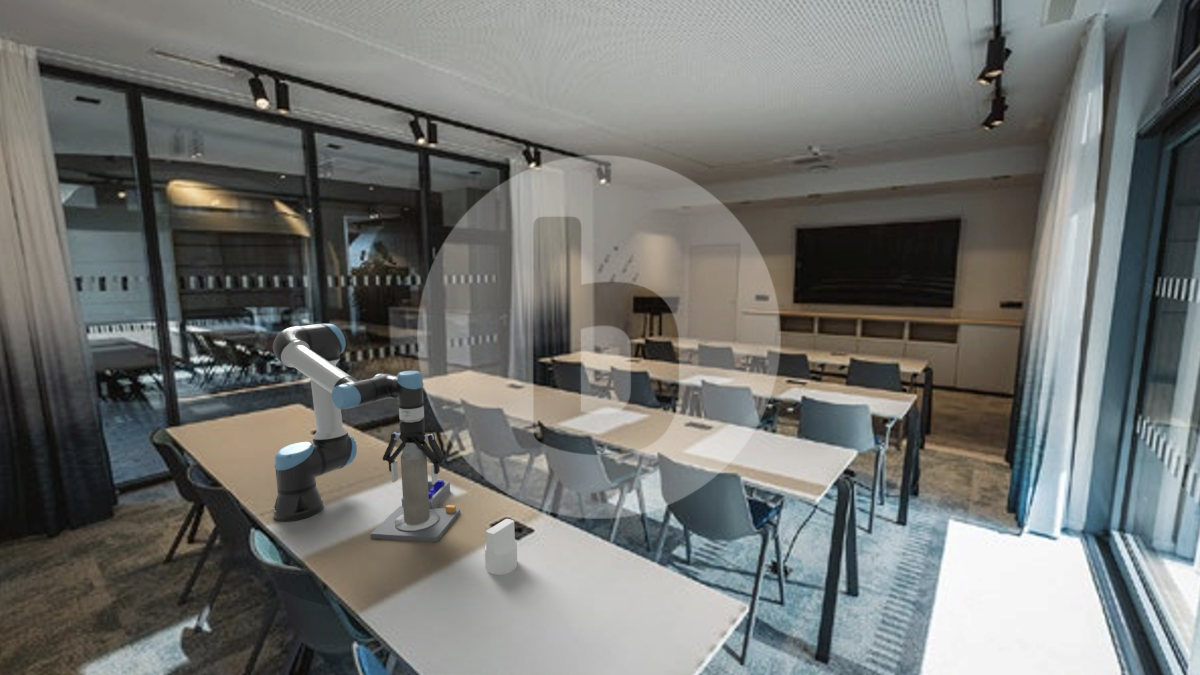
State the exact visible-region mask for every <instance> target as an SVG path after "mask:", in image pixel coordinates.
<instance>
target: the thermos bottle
mask: <svg viewBox="0 0 1200 675" xmlns="http://www.w3.org/2000/svg"><path fill="white" fill-rule="evenodd" d="M405 442H407V443H406V444H405V447H404V448H403V450H402V451H401V452H402V454H401V455H400V469H401V470H400V471H401V487H402V488H401V489H402V498H403V509H404V522H405V523H406V524H408V525H418V524H422V523H424V522H426V521H428V520H429V518H430V512H429V493H428V481H429V476H428V474H429V473H428V457H427V456H426V455H425V454H424V452H423V451H422V450H420V449H419V448H418V447H417V446H416V444H414V443H415V440H412V439H408V440H405Z"/></svg>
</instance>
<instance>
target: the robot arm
mask: <svg viewBox="0 0 1200 675" xmlns="http://www.w3.org/2000/svg"><path fill="white" fill-rule="evenodd" d="M346 345H347V344H346V338H345V336H344V333H343V332H342V330H341V329H340V328H339V327H338V326H337V325H335V324H333V323H317V324H309V325H308V324H307V325H298V326H290V327H287V328H285V329H283V330H281V331H280V332H279V333H278V334H277V335H276V336H275V339H274V340H273V344H272V350H273V354H274V356H275V357H276V359H277V360H278V361H279V362H280V363H282V365H284V366H286V367H288V368H294V369H296V370H297V371H299V372H300V373H301V374H303V375H304V376H305V377H307V378H309V379H310V384H311V385H310V386H311V393H312V403H313V412H314V420H315V429H316V432H315V433H314V434H313V436H312V442H310V441H300V442H295V443H291V444H288V445H286V446H284V447H282V448H281V449H279V450H278V451H277V452H276V454H274V455H275V456H274V468H275V478H276V488H277V496H276V499H275V504H274V507H273V510H272V513H273V518H274V519H275V521H281V522H293V521H294V522H295V521H299V520H303V519H307V518H309V517H312V516H314V515H317V514H318V513H320V512H321V511H322V510H323V509H324V499H323V498H322V497H321V494H320V491H319V490H318V487H317V480H316V478H318V477H319V476H323V475H325V474H327V473H331V472H333V471H336V470H339V469H344V467H346V466H349V465H351V464H352V463H353V461H355V459H356V458H357V457H356V456H357V453H358V452H357V451H358V448H357V446H358V445H357V442H356V440H355V438H354V437H353V435H352V434H350V433H349V430H347V429H345V428H344V427H343V416H342V410H347V409H353V408H356V407H360V406H364V405H367V404H371V403H376V402H378V401H382V400H383V401H384V400H386V399H393V400H398V412H399V413H398V416H399V418H398V419H399V432H398V431H394V432H393V433H390V434H391V435H390V440H389V443H388V445H387V448H386V450H385V451H384V454H383V456H382V461H387V462H388V471H389V472H391V483H395V482H397V481H398V480H399V465H398V460H397V457H398V456H399V455H400V454H401V452H403V448H404V447H405V444H406V443H407V442H405V440H408V439H412V440H415V443H414V444H416V446H417V447H418V448H419V449H420V450H422V451H423V452H424V454H425V455H426V456H427V459H429V461H430V462H431V463H432V464H431V465H430V470H431V471H430V472H431V481H432V484H433V485H434V484H435V483H436V482H437V481H438V480H439V479H438V474H439V473H440V471H441V470H440V464H442V463H443V462H444V461H445V460H446V458H445V456H444V454H443V452H442V450H441V448H440V446H439V444H438V442H437V440H436V437H435V436H436V434H435V433H434V432H432V433H430V434H429V433H428V434H426V432H425V427H426V426H425V407H424V405H425V404H424V382H423V374H422V372H421V371H420V370H419V371H418V370H404V371H400V372H398V373H397V375H396V374H395V375H394V374H389V373H377V374H375V375H374V376H373V377H371V378H366V379H363V380H362V379H361V380H357V379H356V378H355V377H352V376H351V375H349V374H348V373H347V372H345V371H344V370H342V369H341V368H339V367H338V366H337V363H338V362H339V361H340V360H341V357H340V356H341V354H342V353H344V352H345V348H346ZM399 439H400V441H401V443H400V444H399V446H398V447H397V448H396V450H395V451H394V448H395V446H396V444H397V442H398V440H399ZM429 446H430V447H429ZM393 451H394V452H393Z"/></svg>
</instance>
